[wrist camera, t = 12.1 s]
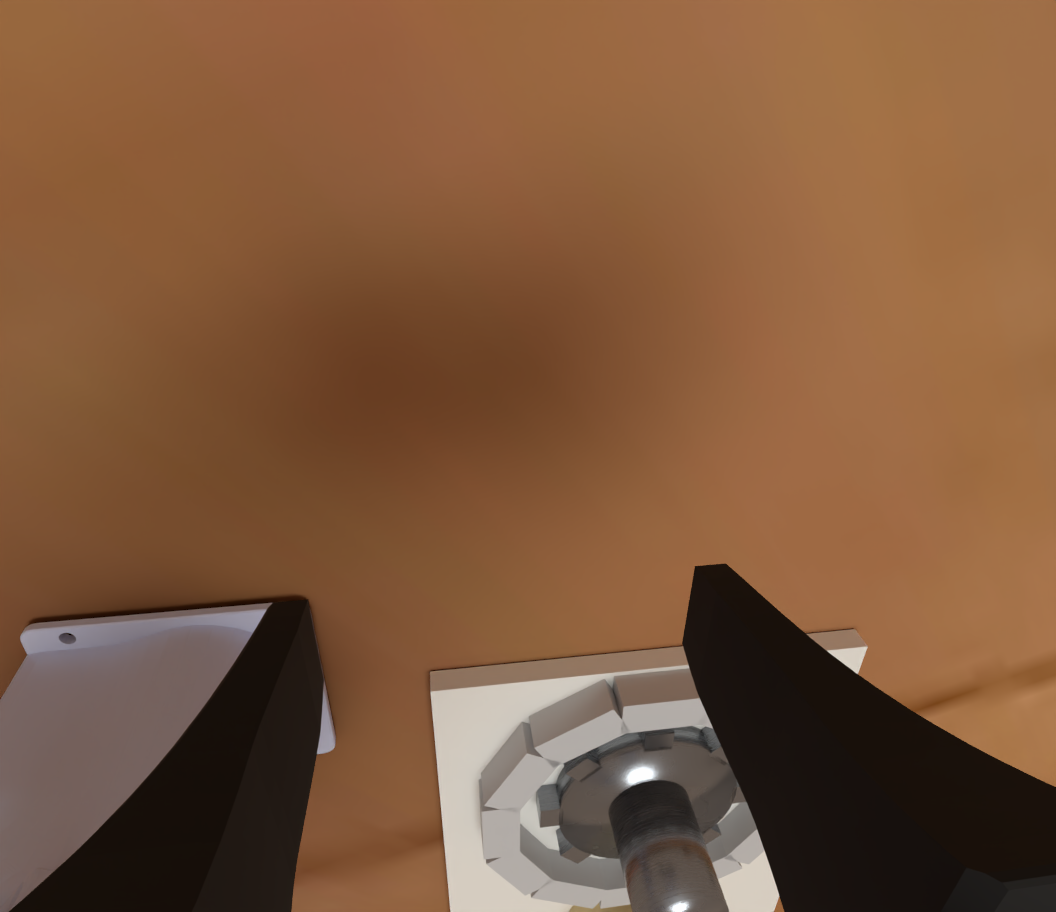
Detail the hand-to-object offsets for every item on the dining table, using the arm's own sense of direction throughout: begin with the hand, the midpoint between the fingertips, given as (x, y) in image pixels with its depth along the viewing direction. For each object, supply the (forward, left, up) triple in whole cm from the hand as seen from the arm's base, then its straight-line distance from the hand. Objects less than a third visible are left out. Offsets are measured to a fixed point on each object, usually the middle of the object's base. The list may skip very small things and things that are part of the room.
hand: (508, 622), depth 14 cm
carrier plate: (+7, -24, -10) cm, 27 cm away
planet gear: (+7, -20, -9) cm, 23 cm away
